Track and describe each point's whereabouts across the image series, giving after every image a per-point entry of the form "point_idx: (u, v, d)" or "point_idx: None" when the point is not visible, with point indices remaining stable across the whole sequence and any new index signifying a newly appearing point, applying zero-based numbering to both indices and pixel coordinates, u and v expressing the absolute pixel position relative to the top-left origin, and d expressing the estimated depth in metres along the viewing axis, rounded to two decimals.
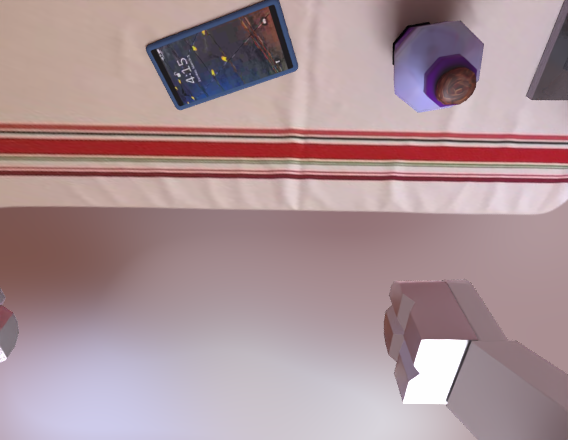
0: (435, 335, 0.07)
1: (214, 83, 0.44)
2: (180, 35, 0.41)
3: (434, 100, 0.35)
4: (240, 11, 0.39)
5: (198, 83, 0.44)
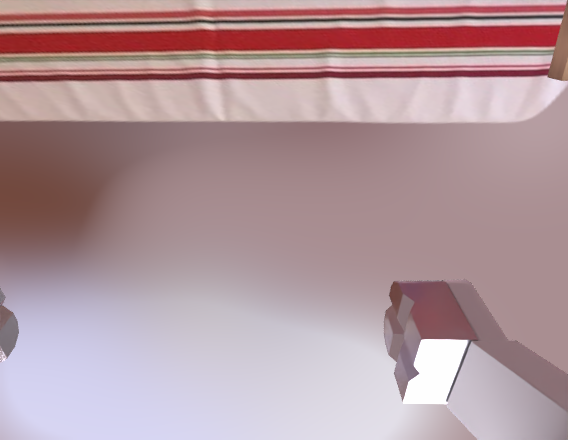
0: (435, 335, 0.07)
1: None
2: None
3: None
4: None
5: None
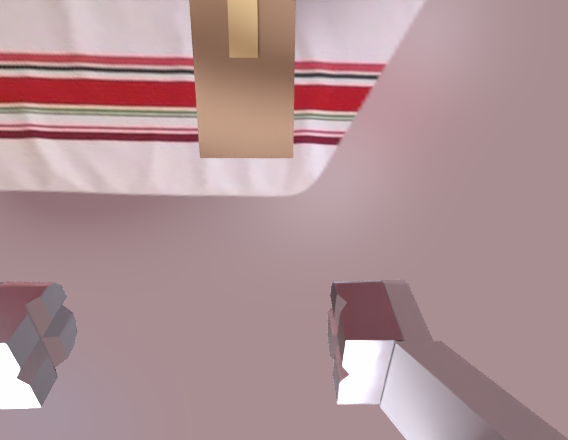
0: (361, 335, 0.07)
1: None
2: None
3: None
4: None
5: None
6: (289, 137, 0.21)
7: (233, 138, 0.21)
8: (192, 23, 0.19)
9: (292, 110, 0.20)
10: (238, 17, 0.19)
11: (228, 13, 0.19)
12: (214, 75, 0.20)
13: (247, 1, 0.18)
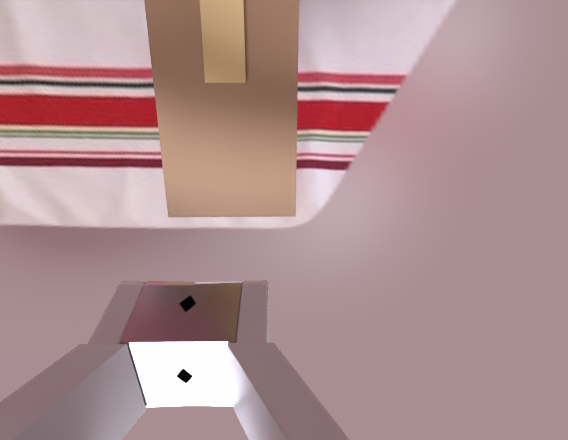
0: (196, 337, 0.06)
1: None
2: None
3: None
4: None
5: None
6: (290, 189, 0.15)
7: (213, 190, 0.15)
8: (150, 34, 0.13)
9: (294, 154, 0.15)
10: (216, 26, 0.13)
11: (201, 20, 0.13)
12: (184, 106, 0.14)
13: (229, 2, 0.13)
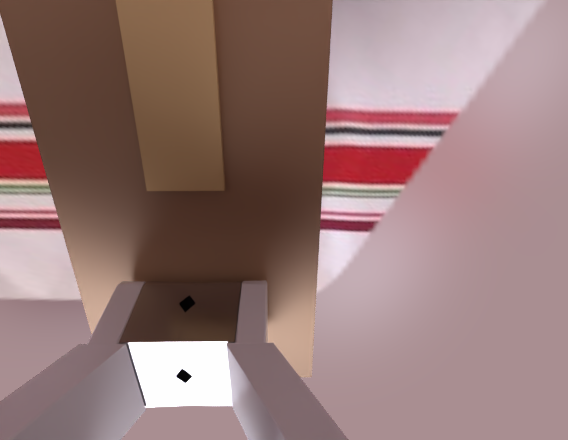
0: (195, 337, 0.06)
1: None
2: None
3: None
4: None
5: None
6: (304, 343, 0.09)
7: None
8: (30, 104, 0.06)
9: (313, 295, 0.08)
10: (161, 90, 0.06)
11: (131, 77, 0.06)
12: (113, 227, 0.08)
13: (184, 44, 0.06)
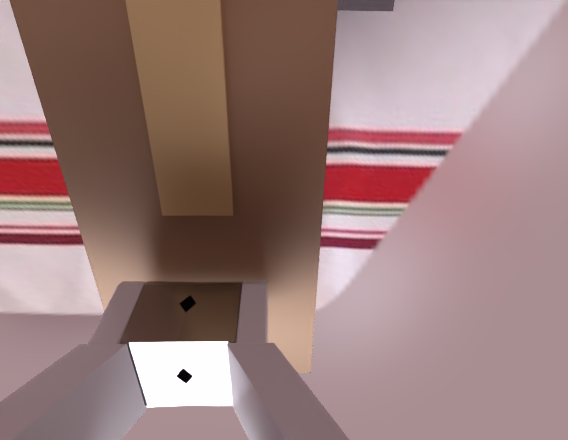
0: (196, 337, 0.06)
1: None
2: None
3: None
4: None
5: None
6: (304, 344, 0.10)
7: None
8: (56, 139, 0.07)
9: (312, 304, 0.09)
10: (175, 129, 0.07)
11: (147, 117, 0.07)
12: (131, 245, 0.08)
13: (197, 89, 0.07)
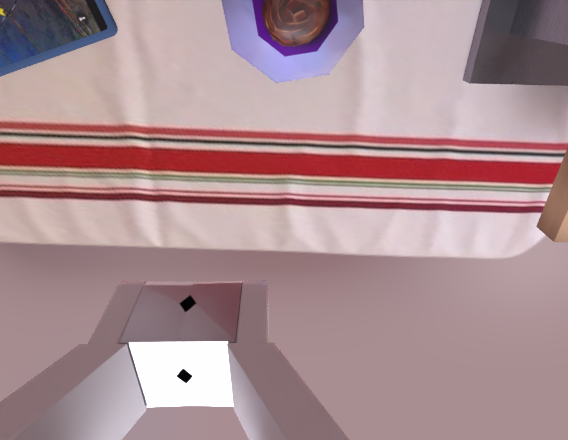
0: (196, 337, 0.06)
1: None
2: None
3: (272, 43, 0.20)
4: None
5: None
6: None
7: None
8: None
9: None
10: None
11: None
12: None
13: None
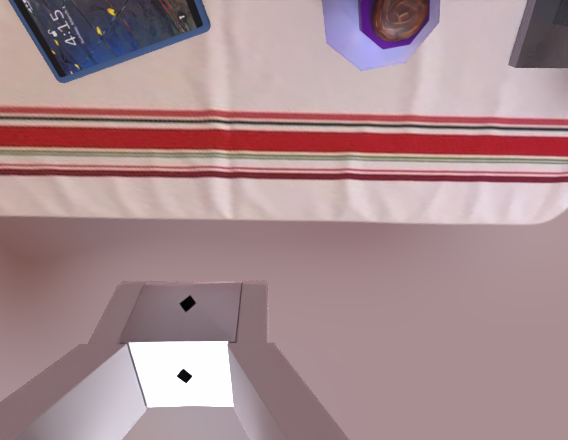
0: (196, 337, 0.06)
1: (102, 46, 0.34)
2: None
3: (373, 38, 0.24)
4: None
5: (81, 45, 0.34)
6: None
7: None
8: None
9: None
10: None
11: None
12: None
13: None
